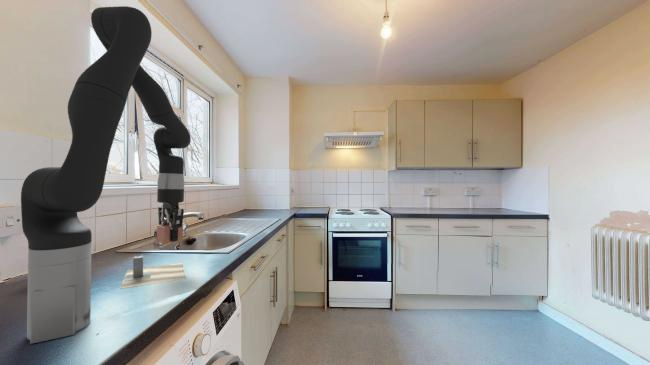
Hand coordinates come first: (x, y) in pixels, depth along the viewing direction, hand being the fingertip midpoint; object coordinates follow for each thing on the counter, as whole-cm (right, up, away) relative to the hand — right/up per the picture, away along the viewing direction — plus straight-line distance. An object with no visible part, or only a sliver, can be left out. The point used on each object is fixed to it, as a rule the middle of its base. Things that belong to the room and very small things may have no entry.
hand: (169, 239), depth 86 cm
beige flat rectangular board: (-3, -12, -2) cm, 12 cm away
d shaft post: (-7, -12, -4) cm, 14 cm away
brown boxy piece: (0, -1, 0) cm, 1 cm away
